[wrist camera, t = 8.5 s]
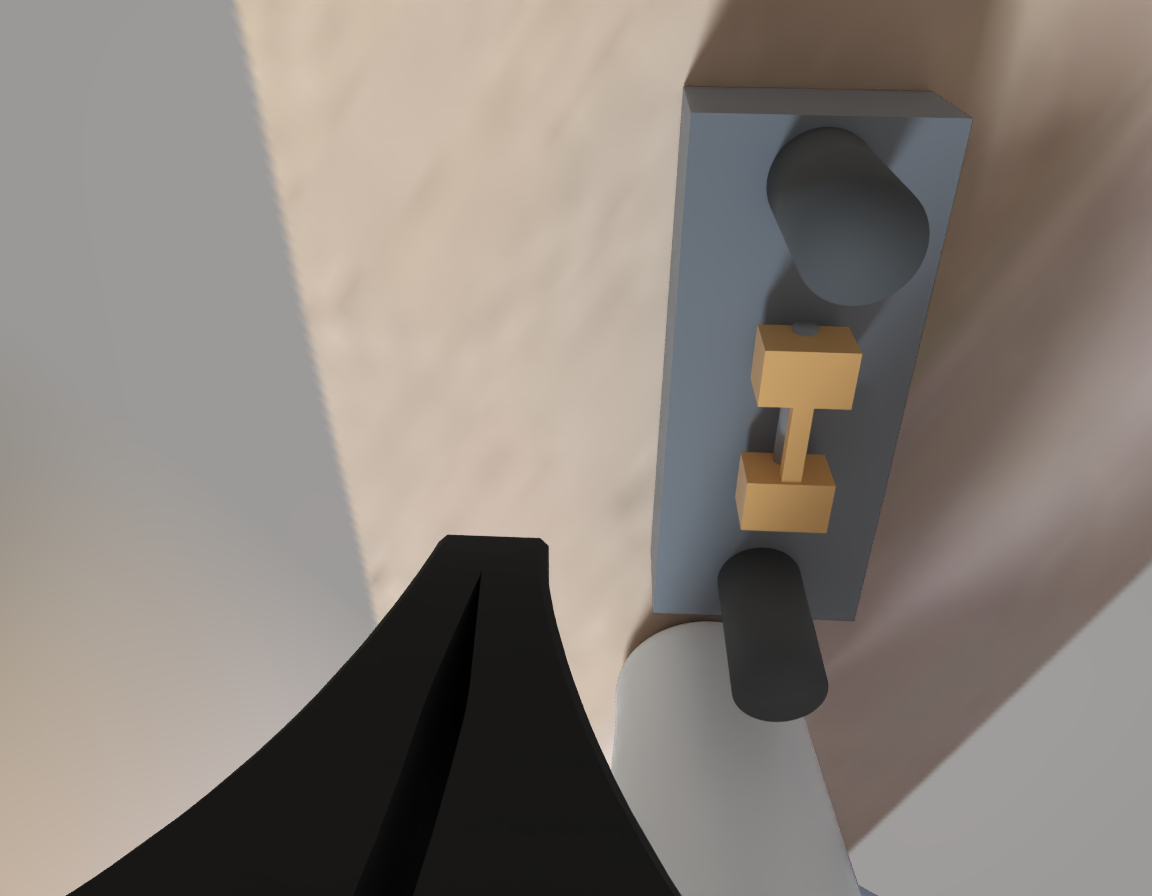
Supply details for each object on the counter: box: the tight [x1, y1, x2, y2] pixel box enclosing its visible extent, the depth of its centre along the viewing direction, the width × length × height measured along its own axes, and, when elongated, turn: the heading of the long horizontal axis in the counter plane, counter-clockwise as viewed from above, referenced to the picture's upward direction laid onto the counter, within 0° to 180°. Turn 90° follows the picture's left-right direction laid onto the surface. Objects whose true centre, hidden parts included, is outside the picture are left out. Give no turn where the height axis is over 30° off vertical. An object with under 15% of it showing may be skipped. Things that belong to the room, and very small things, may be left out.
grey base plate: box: [651, 86, 973, 621], centre depth 20 cm, size 12×5×2 cm, turn 0°
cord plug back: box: [718, 548, 828, 722], centre depth 20 cm, size 2×2×4 cm
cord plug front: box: [766, 127, 930, 306], centre depth 15 cm, size 2×2×4 cm
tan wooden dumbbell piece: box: [735, 321, 862, 533], centre depth 18 cm, size 4×2×1 cm, turn 0°
